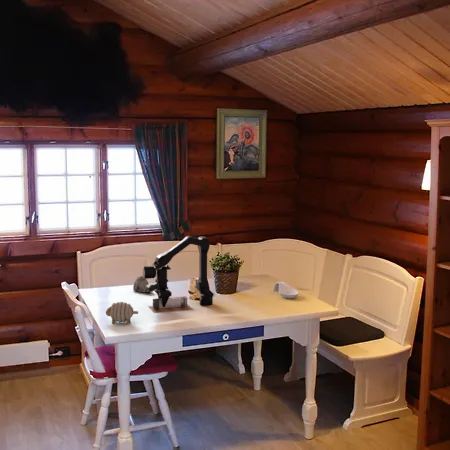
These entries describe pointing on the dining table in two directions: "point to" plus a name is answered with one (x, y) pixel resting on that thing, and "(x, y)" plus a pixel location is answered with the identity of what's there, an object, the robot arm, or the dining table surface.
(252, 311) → the dining table surface
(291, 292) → the spoon rest
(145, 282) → the mineral rock
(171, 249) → the robot arm
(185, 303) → the frame
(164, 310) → the board
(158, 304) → the tongs arm
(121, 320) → the toy sheep
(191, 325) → the dining table surface
